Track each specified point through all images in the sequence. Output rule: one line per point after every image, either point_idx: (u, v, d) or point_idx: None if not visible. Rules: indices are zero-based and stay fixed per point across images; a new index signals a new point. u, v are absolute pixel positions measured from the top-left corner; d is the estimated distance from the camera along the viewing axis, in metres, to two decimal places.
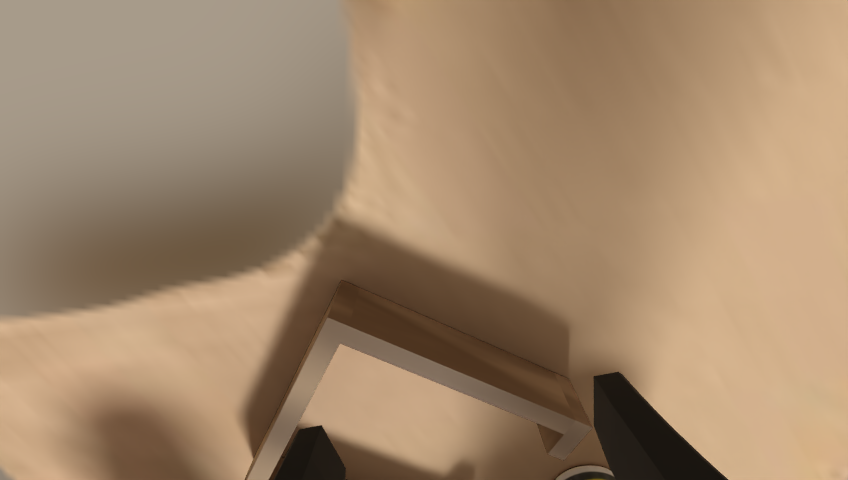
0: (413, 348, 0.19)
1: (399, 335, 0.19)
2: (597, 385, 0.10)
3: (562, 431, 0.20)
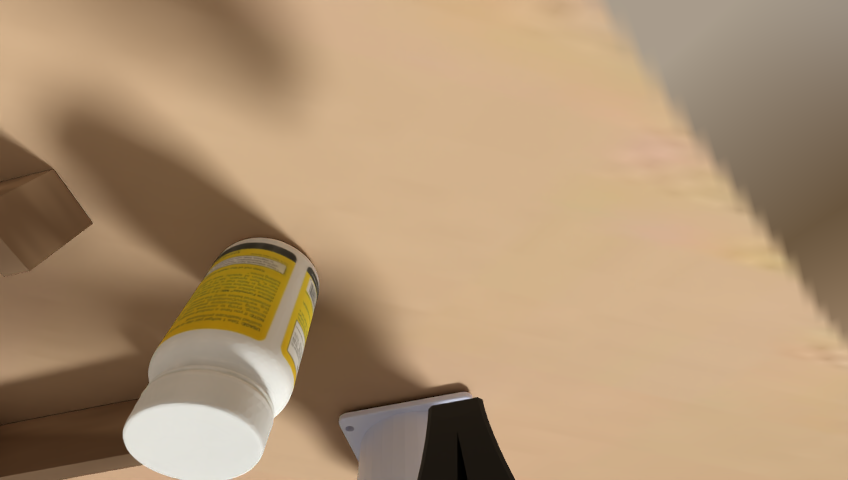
0: None
1: None
2: None
3: None
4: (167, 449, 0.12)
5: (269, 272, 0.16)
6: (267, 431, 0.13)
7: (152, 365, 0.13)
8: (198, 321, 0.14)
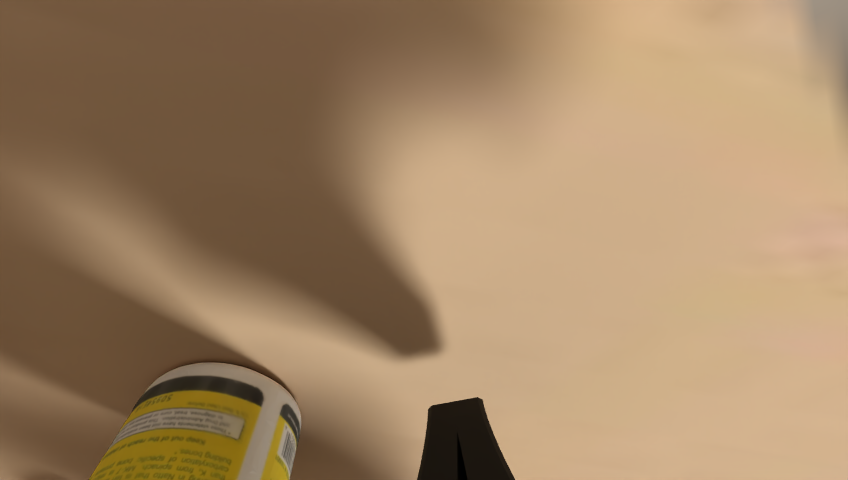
0: None
1: None
2: None
3: None
4: None
5: (212, 443, 0.10)
6: None
7: None
8: None
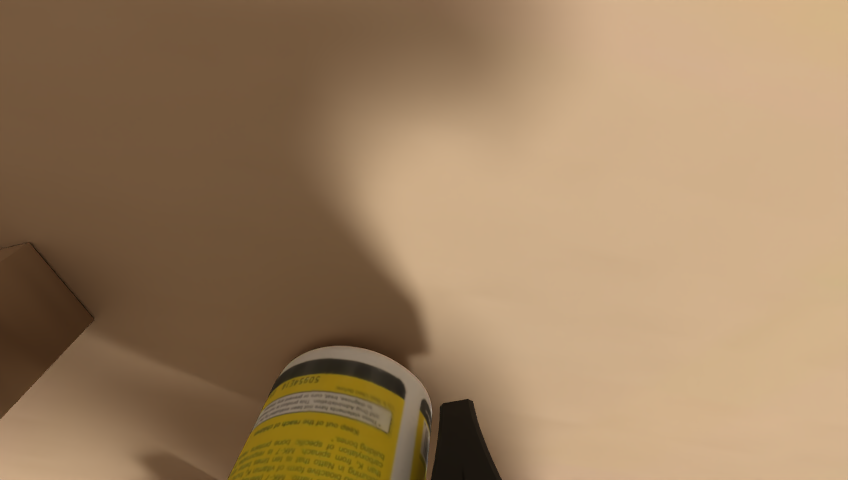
0: None
1: None
2: None
3: None
4: None
5: (365, 434, 0.09)
6: None
7: None
8: None
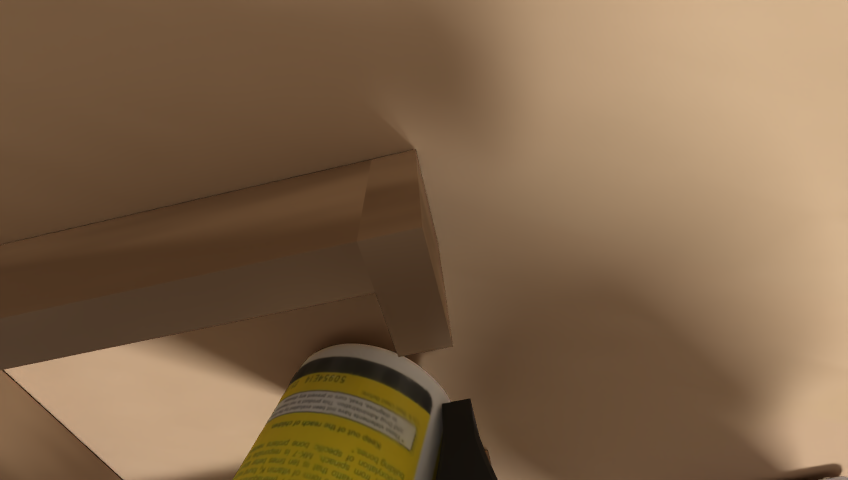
0: None
1: None
2: None
3: (362, 290, 0.07)
4: None
5: (388, 449, 0.09)
6: None
7: None
8: None
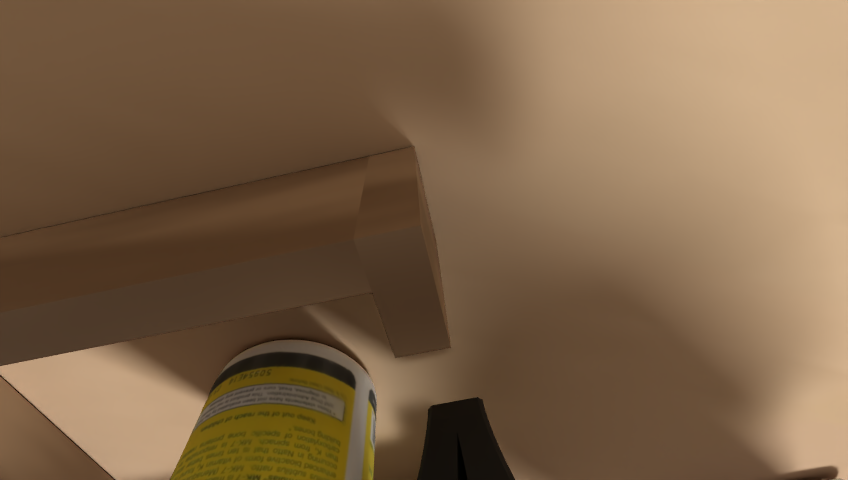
0: None
1: None
2: None
3: (358, 289, 0.06)
4: None
5: (321, 422, 0.10)
6: None
7: None
8: None
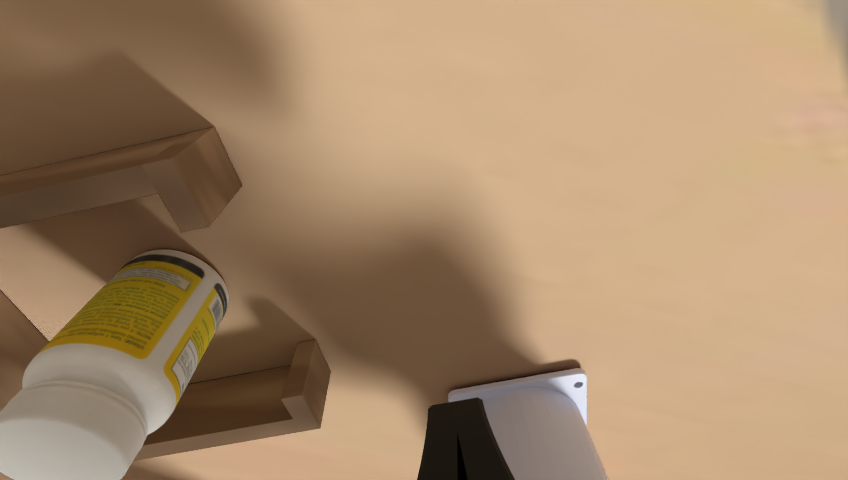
0: None
1: None
2: None
3: (150, 191, 0.13)
4: (26, 460, 0.13)
5: (169, 288, 0.17)
6: (134, 449, 0.13)
7: (26, 374, 0.14)
8: (80, 335, 0.14)
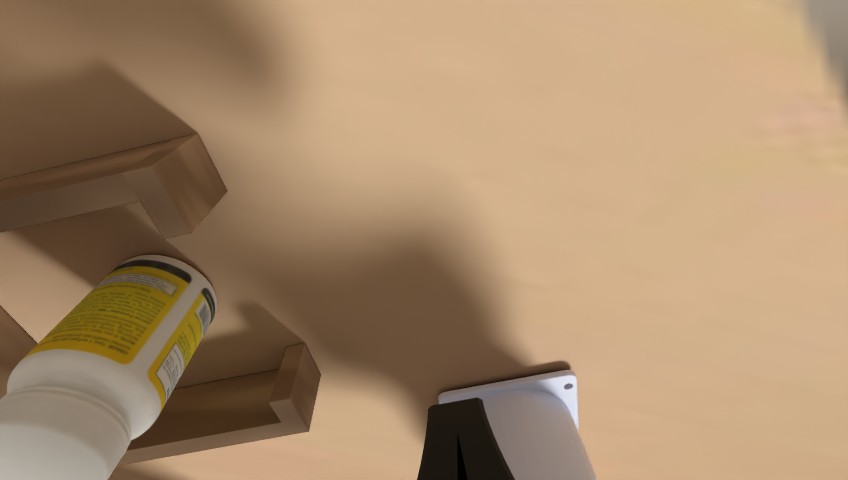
0: None
1: None
2: None
3: (132, 199, 0.14)
4: (9, 465, 0.13)
5: (155, 293, 0.17)
6: (117, 453, 0.14)
7: (10, 380, 0.14)
8: (63, 341, 0.14)
